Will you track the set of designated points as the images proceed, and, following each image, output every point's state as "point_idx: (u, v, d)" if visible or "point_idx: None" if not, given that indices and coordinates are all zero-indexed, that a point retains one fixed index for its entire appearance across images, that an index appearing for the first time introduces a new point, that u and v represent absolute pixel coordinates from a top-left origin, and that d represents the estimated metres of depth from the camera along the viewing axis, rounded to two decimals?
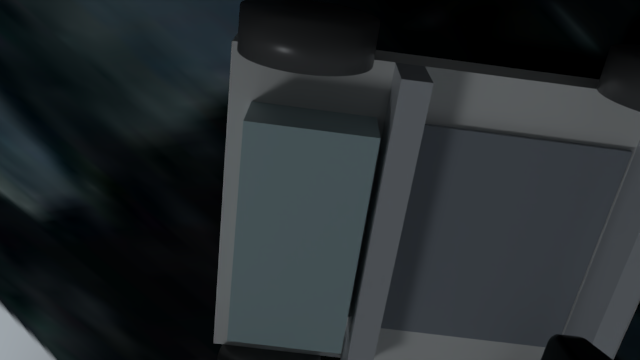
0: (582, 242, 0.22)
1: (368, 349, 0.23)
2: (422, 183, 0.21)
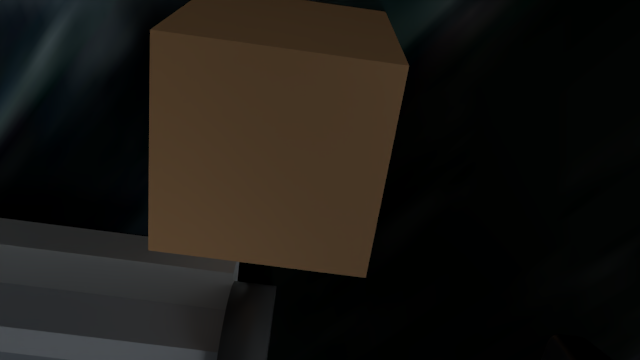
0: None
1: None
2: None
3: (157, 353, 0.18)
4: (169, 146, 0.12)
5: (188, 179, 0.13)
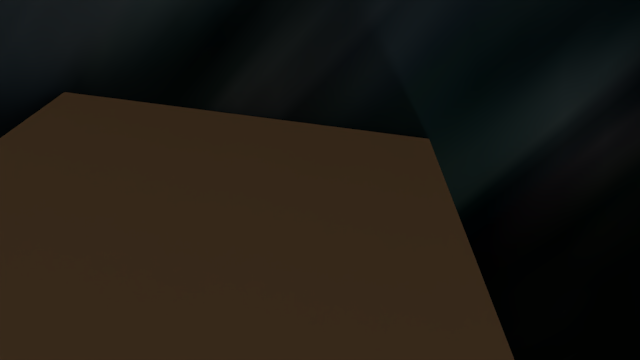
0: None
1: None
2: None
3: None
4: None
5: None
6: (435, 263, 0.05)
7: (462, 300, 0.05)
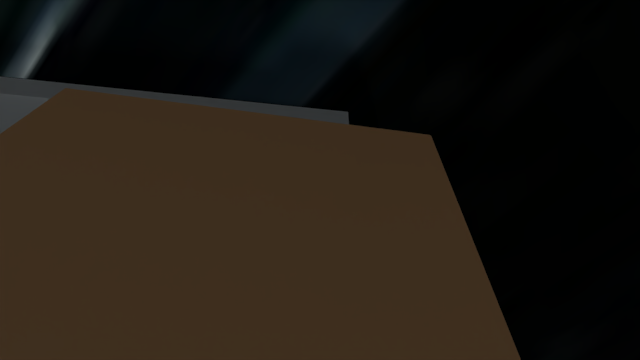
0: None
1: None
2: None
3: None
4: None
5: None
6: (438, 258, 0.05)
7: (465, 294, 0.05)
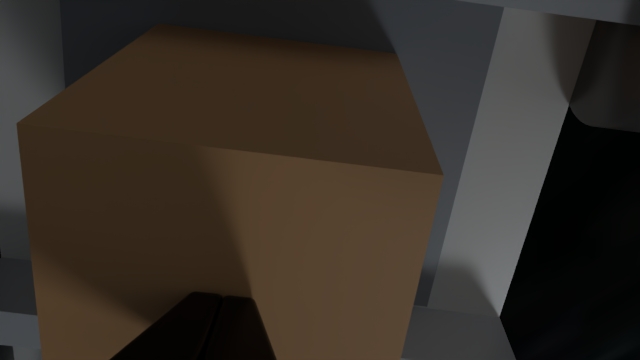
0: None
1: None
2: None
3: None
4: (66, 293, 0.08)
5: (100, 338, 0.08)
6: (390, 97, 0.09)
7: (402, 108, 0.09)
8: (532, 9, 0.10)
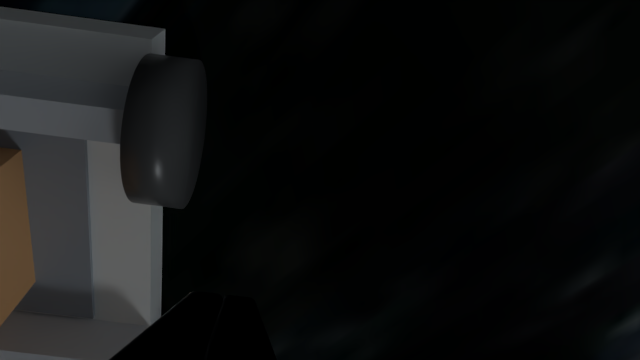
0: None
1: None
2: None
3: (60, 114, 0.16)
4: None
5: None
6: None
7: None
8: (55, 135, 0.16)
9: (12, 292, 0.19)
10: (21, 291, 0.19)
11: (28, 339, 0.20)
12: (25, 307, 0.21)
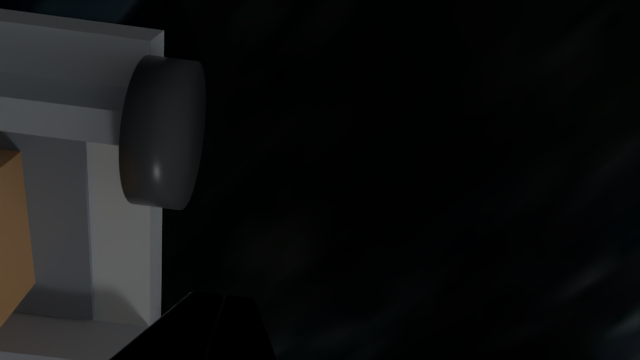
0: None
1: None
2: None
3: (59, 115, 0.16)
4: None
5: None
6: None
7: None
8: (54, 137, 0.16)
9: (12, 293, 0.19)
10: (21, 293, 0.19)
11: (28, 340, 0.20)
12: (25, 308, 0.21)
